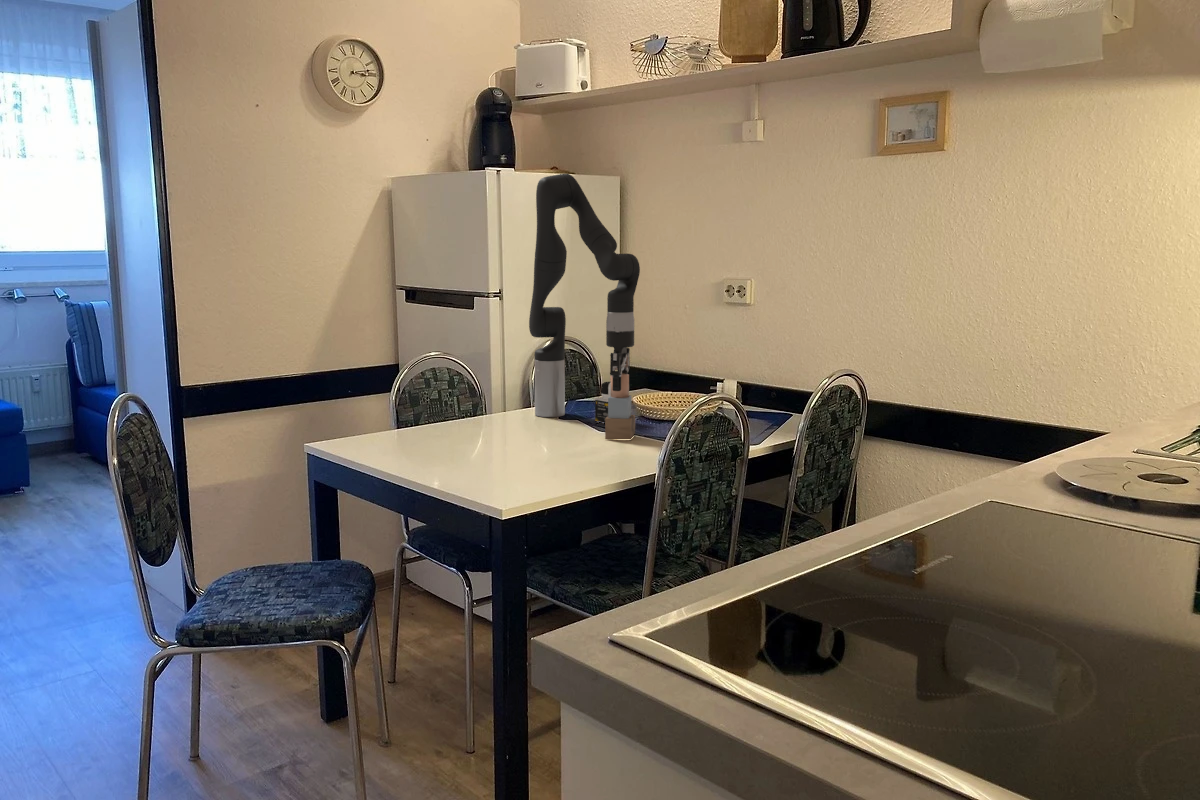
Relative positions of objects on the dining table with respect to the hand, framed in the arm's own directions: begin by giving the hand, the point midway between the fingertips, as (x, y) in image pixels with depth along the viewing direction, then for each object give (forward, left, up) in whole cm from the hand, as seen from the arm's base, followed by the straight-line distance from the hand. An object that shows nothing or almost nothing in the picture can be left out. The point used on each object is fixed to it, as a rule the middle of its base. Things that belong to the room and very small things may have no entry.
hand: (620, 388), depth 257 cm
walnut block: (0, 0, -14) cm, 14 cm away
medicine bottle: (-22, -7, -14) cm, 27 cm away
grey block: (0, 0, -8) cm, 8 cm away
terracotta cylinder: (0, 0, -2) cm, 2 cm away
